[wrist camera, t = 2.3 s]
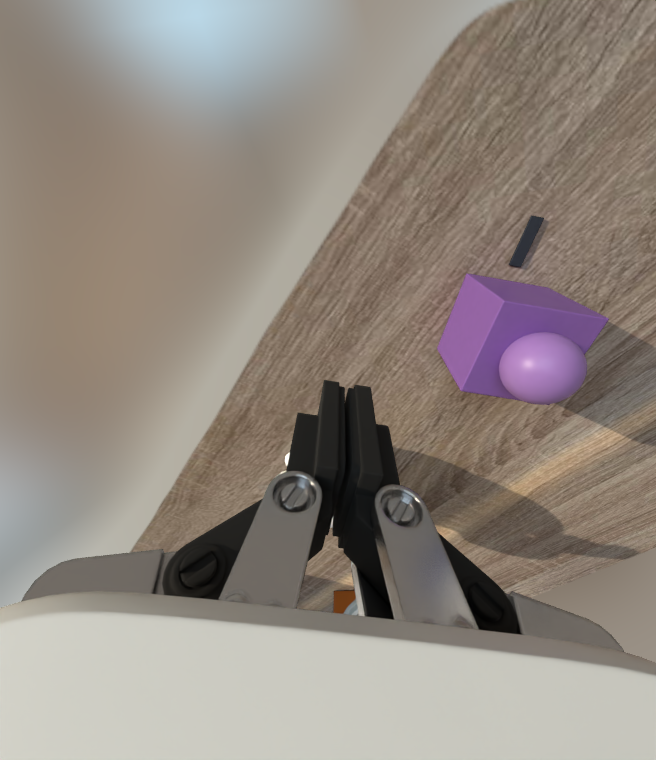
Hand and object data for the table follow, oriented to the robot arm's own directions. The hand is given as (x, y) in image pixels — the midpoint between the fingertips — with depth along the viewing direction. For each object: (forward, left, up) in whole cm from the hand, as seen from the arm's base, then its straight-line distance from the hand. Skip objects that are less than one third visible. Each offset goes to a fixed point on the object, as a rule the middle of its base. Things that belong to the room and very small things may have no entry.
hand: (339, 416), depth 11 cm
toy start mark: (-6, +11, -14) cm, 19 cm away
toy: (0, +11, -14) cm, 18 cm away
